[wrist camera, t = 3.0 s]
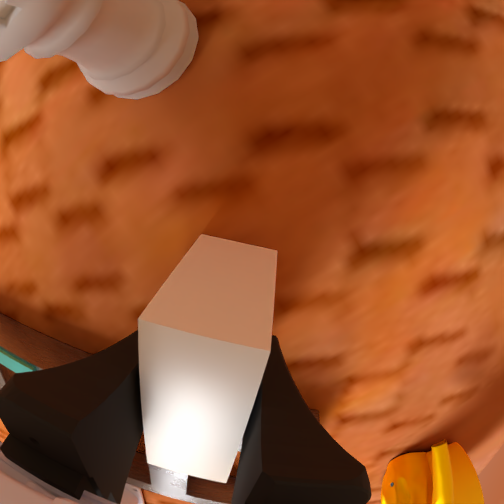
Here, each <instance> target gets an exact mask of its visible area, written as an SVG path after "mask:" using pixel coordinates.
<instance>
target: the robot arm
mask: <svg viewBox="0 0 504 504" xmlns="http://www.w3.org/2000/svg"><path fill="white" fill-rule="evenodd" d="M0 418H1V420H2V422H3V424H4V425H5V427H6V429H7V430H8V432H9V433H10V434H9V435H8V436H7V438H6V439H5V441H4V442H3V443H2V442H1V441H0V504H145V503H144V499H143V495H142V491H141V488H139V487H136V486H133V485H130V484H128V483H126V481H127V477H128V474H129V471H130V468H131V464H132V461H133V458H134V455H135V452H136V449H137V446H138V443H139V440H140V438H141V435H142V432H143V419H142V407H141V393H140V376H139V350H138V330H137V331H135V332H134V333H132V334H131V335H129V336H128V337H126V338H124V339H123V340H121V341H119V342H117V343H116V344H114V345H112V346H110V347H108V348H106V349H105V350H102V351H100V352H98V353H96V354H94V355H91V356H89V357H86V358H83V359H80V360H77V361H74V362H71V363H68V364H65V365H61V366H57V367H53V368H49V369H44V370H38V371H30V372H22V373H15V374H14V375H13V376H12V377H11V378H10V379H9V380H8V381H7V382H6V384H5V385H4V386H3V387H2V388H1V390H0ZM370 498H371V488H370V482H369V478H368V475H367V471H366V468H365V466H364V465H362V464H361V463H360V462H359V461H357V460H356V459H355V458H354V457H352V456H351V455H350V454H349V453H348V452H346V451H345V450H344V449H343V448H342V447H341V446H340V445H339V444H338V443H337V442H336V441H335V440H334V439H333V438H332V437H331V436H330V435H329V433H328V432H327V431H326V430H325V429H324V428H323V426H322V425H321V424H320V423H319V422H318V420H317V419H316V418H315V416H314V415H313V413H312V412H311V411H310V409H309V408H308V406H307V404H306V403H305V401H304V400H303V398H302V396H301V394H300V393H299V391H298V389H297V387H296V385H295V383H294V381H293V379H292V377H291V374H290V372H289V370H288V368H287V365H286V363H285V360H284V357H283V355H282V352H281V349H280V345H279V341H278V338H277V337H276V336H274V335H272V339H271V351H270V355H269V358H268V361H267V364H266V367H265V371H264V374H263V377H262V380H261V383H260V386H259V389H258V393H257V396H256V399H255V402H254V405H253V408H252V411H251V414H250V417H249V420H248V423H247V426H246V429H245V432H244V435H243V438H242V447H241V454H240V459H239V465H238V470H237V475H236V481H235V486H234V491H233V496H232V501H231V504H366V503H367V502H368V501H369V500H370Z"/></svg>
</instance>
